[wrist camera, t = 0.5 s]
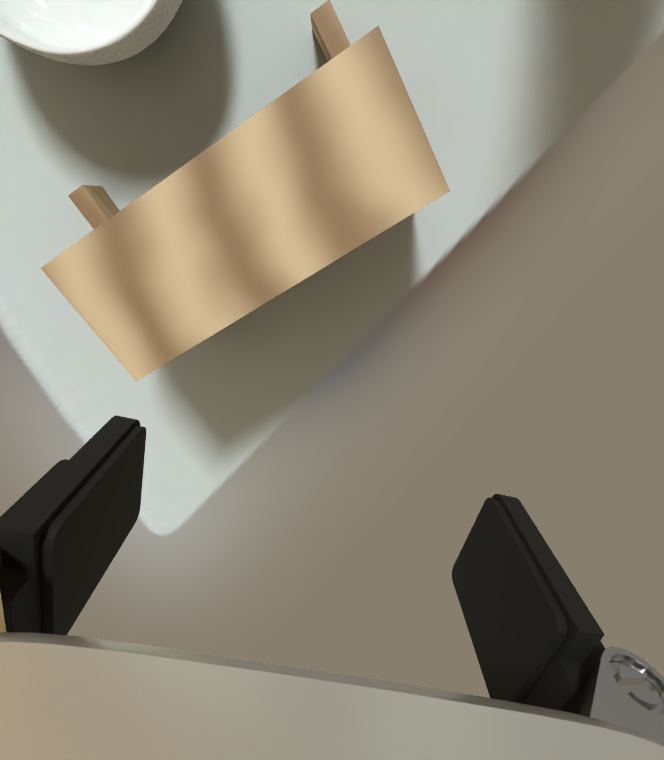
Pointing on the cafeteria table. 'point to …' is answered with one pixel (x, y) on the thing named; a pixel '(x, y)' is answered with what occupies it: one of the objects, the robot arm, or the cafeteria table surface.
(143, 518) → the cafeteria table surface
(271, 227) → the wooden step block
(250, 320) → the cafeteria table surface
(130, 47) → the cereal bowl
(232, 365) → the cafeteria table surface
